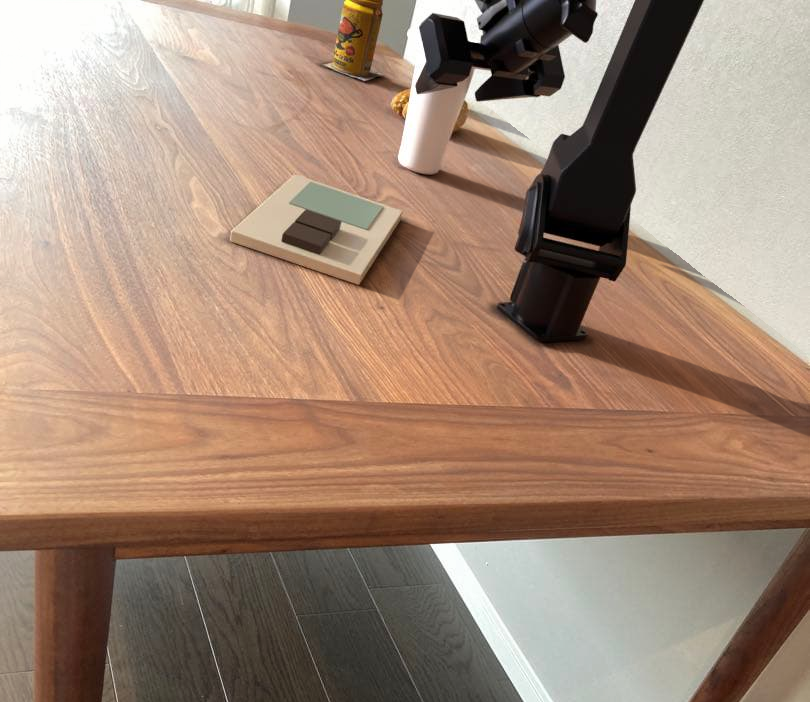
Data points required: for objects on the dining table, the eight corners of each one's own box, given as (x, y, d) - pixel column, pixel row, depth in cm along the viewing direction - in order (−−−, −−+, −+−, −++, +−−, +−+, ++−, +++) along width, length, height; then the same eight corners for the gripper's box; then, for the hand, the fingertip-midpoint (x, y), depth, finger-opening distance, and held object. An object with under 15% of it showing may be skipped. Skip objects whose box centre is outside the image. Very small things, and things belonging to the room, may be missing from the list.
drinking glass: (439, 183, 110) (477, 49, 102) (385, 165, 110) (419, 29, 101) (447, 170, 116) (485, 41, 107) (397, 152, 116) (430, 22, 107)
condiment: (321, 65, 141) (338, -22, 134) (342, 60, 148) (360, -23, 141) (363, 82, 140) (383, -5, 133) (383, 76, 147) (403, -7, 140)
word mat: (358, 285, 81) (363, 266, 80) (229, 241, 81) (232, 221, 80) (400, 220, 97) (405, 203, 96) (292, 183, 97) (296, 166, 96)
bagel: (401, 104, 136) (410, 70, 133) (469, 131, 135) (480, 97, 132) (378, 114, 128) (387, 78, 125) (450, 142, 127) (461, 106, 124)
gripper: (586, -42, 100) (490, 34, 112) (458, -77, 88) (368, 13, 101) (607, 60, 100) (509, 125, 113) (482, 38, 89) (389, 113, 101)
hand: (447, 93), depth 107 cm, fingers open, 9 cm apart
